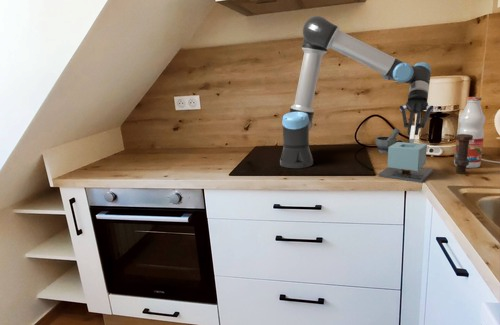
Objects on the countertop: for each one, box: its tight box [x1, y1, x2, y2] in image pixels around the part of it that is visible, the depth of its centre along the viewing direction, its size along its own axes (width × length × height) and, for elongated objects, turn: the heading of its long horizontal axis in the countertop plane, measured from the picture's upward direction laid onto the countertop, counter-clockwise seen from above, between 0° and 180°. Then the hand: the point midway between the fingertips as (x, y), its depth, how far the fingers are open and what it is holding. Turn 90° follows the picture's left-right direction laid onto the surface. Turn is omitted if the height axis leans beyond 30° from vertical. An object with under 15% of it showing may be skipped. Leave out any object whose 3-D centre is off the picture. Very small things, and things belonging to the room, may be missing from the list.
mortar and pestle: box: [374, 127, 401, 154], centre depth 172 cm, size 11×9×12 cm
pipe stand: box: [377, 167, 434, 184], centre depth 136 cm, size 16×16×10 cm
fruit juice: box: [453, 96, 486, 169], centre depth 140 cm, size 9×9×28 cm
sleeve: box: [386, 141, 428, 171], centre depth 135 cm, size 11×11×8 cm
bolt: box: [454, 134, 473, 175], centre depth 133 cm, size 6×5×15 cm
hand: (411, 140), depth 136 cm, fingers closed
